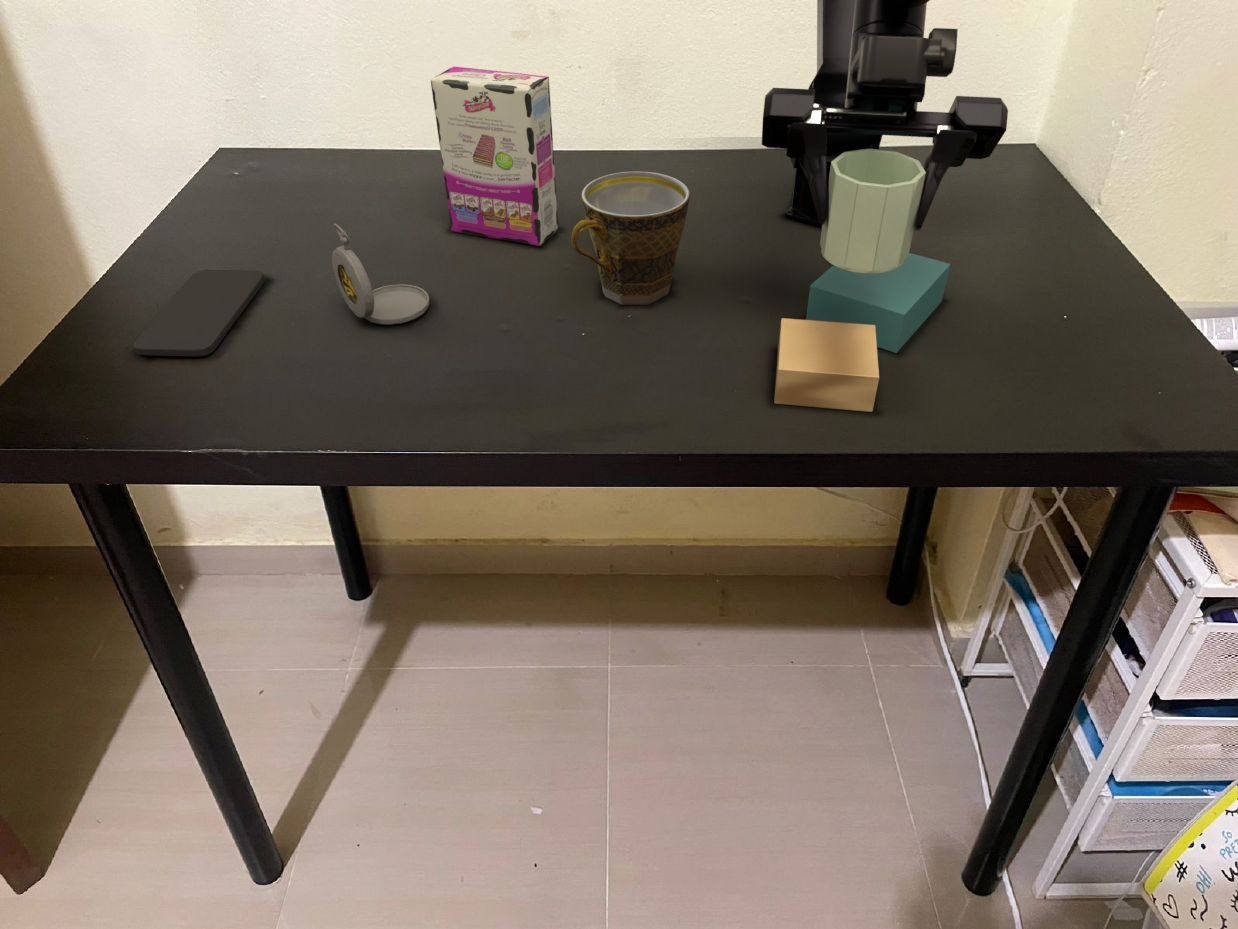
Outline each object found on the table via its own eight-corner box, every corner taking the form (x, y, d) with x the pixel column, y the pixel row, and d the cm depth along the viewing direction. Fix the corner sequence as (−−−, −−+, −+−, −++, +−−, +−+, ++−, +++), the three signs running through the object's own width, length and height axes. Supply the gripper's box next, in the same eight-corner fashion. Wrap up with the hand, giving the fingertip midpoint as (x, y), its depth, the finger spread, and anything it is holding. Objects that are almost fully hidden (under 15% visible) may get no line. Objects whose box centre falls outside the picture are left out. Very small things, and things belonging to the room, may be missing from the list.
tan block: (773, 404, 78) (778, 368, 76) (777, 351, 84) (781, 317, 82) (872, 412, 77) (879, 377, 75) (869, 358, 83) (875, 324, 81)
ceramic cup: (635, 255, 99) (635, 162, 92) (707, 288, 93) (712, 191, 87) (541, 300, 92) (534, 203, 85) (613, 339, 86) (611, 238, 80)
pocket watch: (442, 298, 92) (427, 202, 86) (399, 343, 86) (380, 242, 80) (369, 286, 94) (349, 191, 88) (322, 328, 88) (297, 229, 82)
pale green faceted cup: (805, 258, 78) (816, 172, 73) (844, 225, 83) (856, 141, 78) (884, 283, 75) (901, 194, 70) (920, 246, 80) (938, 161, 75)
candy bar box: (560, 228, 104) (552, 74, 93) (540, 248, 100) (529, 90, 90) (471, 213, 107) (453, 62, 96) (448, 231, 103) (427, 77, 93)
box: (805, 323, 88) (810, 285, 85) (855, 275, 95) (861, 239, 92) (896, 353, 84) (904, 314, 81) (942, 301, 91) (950, 263, 88)
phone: (267, 270, 95) (208, 350, 84) (269, 277, 96) (210, 358, 84) (196, 269, 96) (127, 348, 84) (198, 276, 96) (130, 356, 85)
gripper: (775, -22, 70) (754, 181, 69) (1037, -15, 68) (1019, 196, 67) (770, 54, 81) (752, 230, 80) (995, 63, 79) (980, 245, 78)
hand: (869, 225), depth 76 cm, fingers closed on pale green faceted cup, 7 cm apart
